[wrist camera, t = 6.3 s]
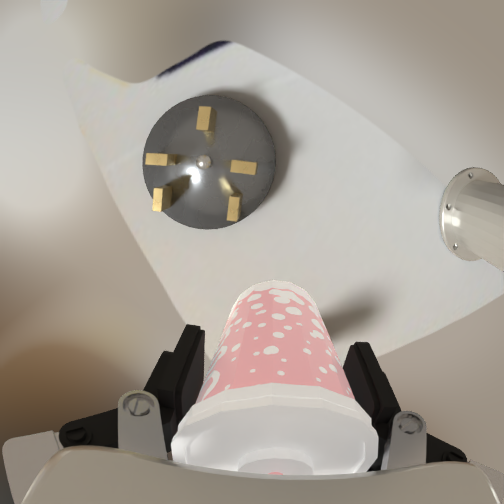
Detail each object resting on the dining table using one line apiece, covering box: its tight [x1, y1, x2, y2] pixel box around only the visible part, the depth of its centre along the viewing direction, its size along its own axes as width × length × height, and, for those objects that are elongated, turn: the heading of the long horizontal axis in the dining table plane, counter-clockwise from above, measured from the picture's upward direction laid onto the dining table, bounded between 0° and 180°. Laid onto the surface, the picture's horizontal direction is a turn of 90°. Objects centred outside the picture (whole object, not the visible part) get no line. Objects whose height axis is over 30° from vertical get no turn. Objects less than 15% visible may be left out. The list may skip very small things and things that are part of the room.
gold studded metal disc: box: [143, 95, 276, 229], centre depth 30 cm, size 15×15×5 cm
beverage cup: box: [171, 280, 378, 475], centre depth 9 cm, size 6×6×14 cm
